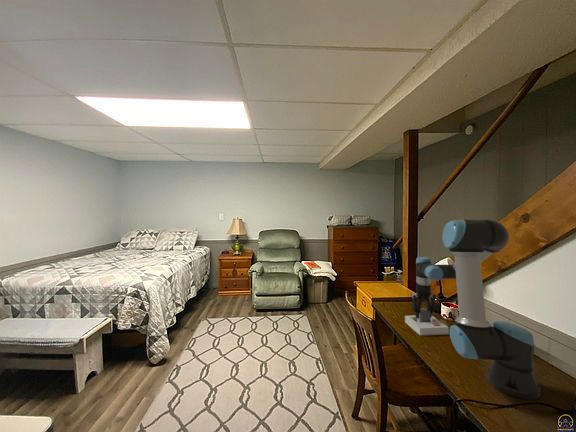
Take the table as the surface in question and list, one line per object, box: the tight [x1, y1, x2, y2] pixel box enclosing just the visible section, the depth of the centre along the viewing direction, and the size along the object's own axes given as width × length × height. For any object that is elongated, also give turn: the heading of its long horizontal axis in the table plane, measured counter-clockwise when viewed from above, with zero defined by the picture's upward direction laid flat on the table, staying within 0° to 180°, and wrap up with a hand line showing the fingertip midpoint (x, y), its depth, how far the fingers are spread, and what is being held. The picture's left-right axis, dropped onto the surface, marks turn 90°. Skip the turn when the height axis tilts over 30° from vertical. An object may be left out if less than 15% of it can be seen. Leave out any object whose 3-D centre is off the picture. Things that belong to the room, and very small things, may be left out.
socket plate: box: [404, 314, 450, 336], centre depth 143 cm, size 16×16×5 cm
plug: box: [420, 307, 430, 323], centre depth 145 cm, size 5×5×8 cm
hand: (423, 323), depth 145 cm, fingers closed on plug, 5 cm apart
